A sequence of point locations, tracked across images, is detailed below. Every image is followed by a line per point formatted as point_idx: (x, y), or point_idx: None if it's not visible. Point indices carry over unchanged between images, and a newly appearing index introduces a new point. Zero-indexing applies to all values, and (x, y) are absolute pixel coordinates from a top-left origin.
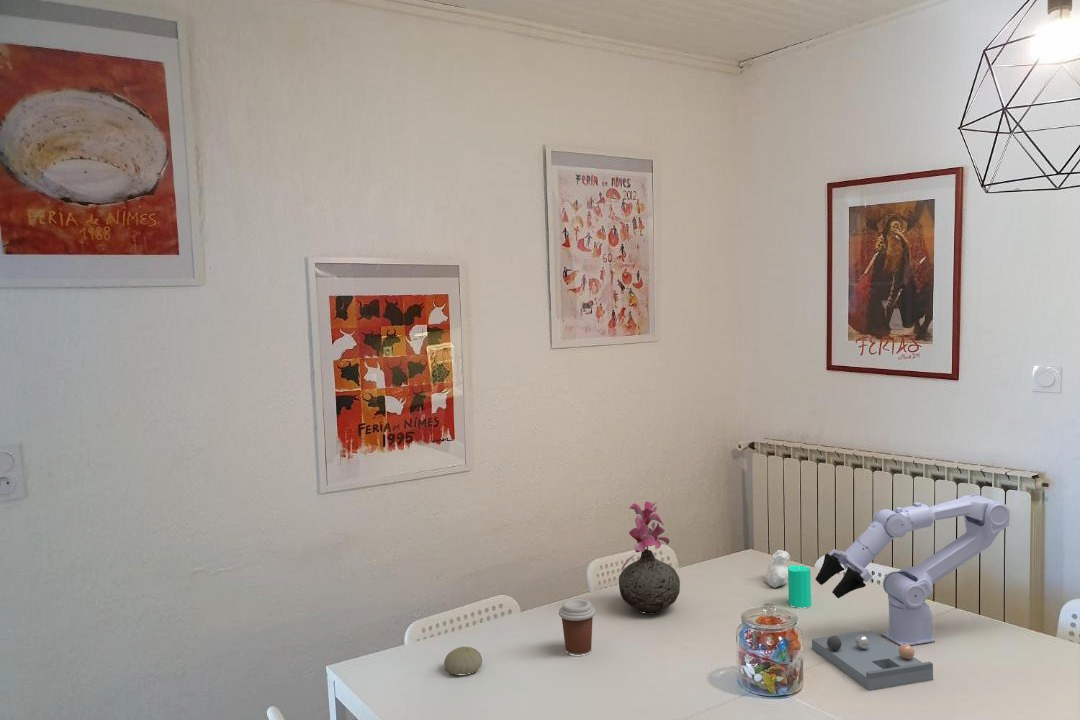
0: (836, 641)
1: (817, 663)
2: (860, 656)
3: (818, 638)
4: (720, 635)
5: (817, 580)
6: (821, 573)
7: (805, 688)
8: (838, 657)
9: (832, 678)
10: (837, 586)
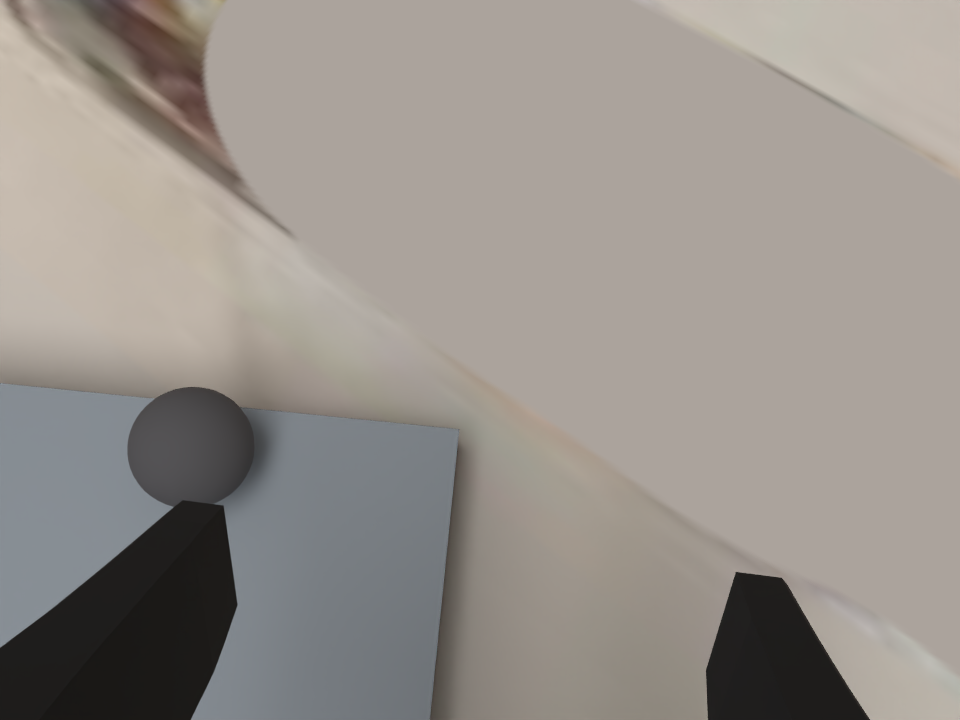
0: (134, 427)
1: (248, 327)
2: (4, 566)
3: (444, 483)
4: (882, 26)
5: (734, 596)
6: (772, 696)
7: (12, 51)
8: (84, 393)
9: (23, 274)
10: (120, 579)
